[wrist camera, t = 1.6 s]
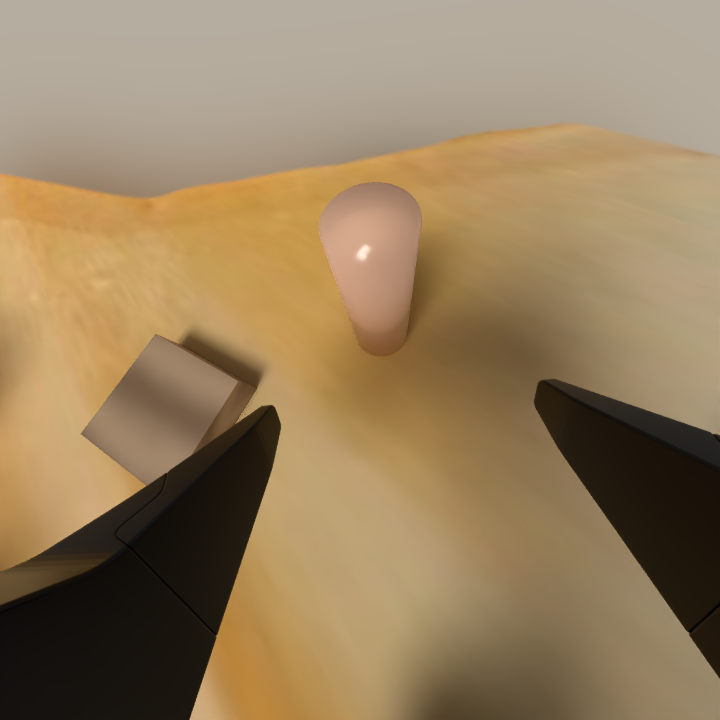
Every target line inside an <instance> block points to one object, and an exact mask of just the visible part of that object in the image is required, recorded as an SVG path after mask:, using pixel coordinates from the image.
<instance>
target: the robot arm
mask: <svg viewBox="0 0 720 720" xmlns="http://www.w3.org/2000/svg"><path fill="white" fill-rule="evenodd" d="M534 404H535V407H536V410H537V411H538V413H539V415H540V417H541V419H542V420H543V422H544V424H545V426H546V428H547V429H548V431H549V433H550V435H551V437H552V438H553V440H554V442H555V444H556V445H557V447H558V449H559V450H560V452H561V453H562V455H563V456H564V457H565V459H566V460H567V462H568V463H569V465H570V466H571V467H572V469H573V470H574V472H575V473H576V474H577V476H578V477H579V479H580V480H581V482H582V483H583V484H584V486H585V487H586V489H587V490H588V492H589V493H590V494H591V496H592V497H593V499H594V500H595V502H596V503H597V504H598V506H599V507H600V509H601V510H602V511H603V513H604V514H605V516H606V517H607V519H608V520H609V521H610V523H611V524H612V526H613V527H614V529H615V530H616V531H617V533H618V534H619V536H620V537H621V538H622V540H623V541H624V543H625V544H626V546H627V547H628V548H629V550H630V551H631V553H632V554H633V556H634V557H635V558H636V560H637V561H638V563H639V564H640V565H641V567H642V568H643V570H644V571H645V573H646V574H647V575H648V577H649V578H650V580H651V581H652V583H653V584H654V585H655V587H656V588H657V590H658V591H659V592H660V594H661V595H662V597H663V598H664V600H665V601H666V602H667V604H668V605H669V607H670V608H671V610H672V611H673V612H674V614H675V615H676V617H677V618H678V620H679V621H680V622H681V624H682V625H683V627H684V628H685V629H686V631H687V632H689V636H690V637H691V638H692V640H693V641H694V643H695V644H696V646H697V647H698V648H699V650H700V651H701V653H702V654H703V655H704V657H705V658H706V660H707V661H708V663H709V664H710V665H711V667H712V668H713V670H714V671H715V673H716V674H717V675H718V677H719V678H720V435H717V434H712V433H711V432H708V431H705V430H702V429H699V428H696V427H694V426H691V425H688V424H685V423H682V422H679V421H676V420H673V419H670V418H667V417H664V416H661V415H659V414H656V413H653V412H650V411H647V410H644V409H641V408H638V407H635V406H632V405H629V404H626V403H623V402H621V401H618V400H615V399H612V398H609V397H606V396H603V395H600V394H597V393H594V392H591V391H588V390H586V389H583V388H580V387H577V386H574V385H571V384H568V383H565V382H562V381H559V380H556V379H546V380H541V381H539V382H538V385H537V390H536V395H535V399H534ZM280 430H281V423H280V420H279V417H278V414H277V412H276V409H275V407H274V406H273V405H267V406H261V407H260V408H258V409H257V410H255V411H254V412H252V413H251V414H250V415H248V416H247V417H245V418H244V419H242V420H241V421H240V422H238V423H237V424H235V425H234V426H232V427H231V428H229V429H228V430H227V431H225V432H224V433H222V434H221V435H219V436H218V437H217V438H215V439H214V440H212V441H211V442H209V443H208V444H206V445H205V446H204V447H202V448H201V449H199V450H198V451H196V452H195V453H193V454H192V455H191V456H189V457H188V458H186V459H185V460H183V461H182V462H181V463H179V464H178V465H176V466H175V467H173V468H172V469H170V470H169V471H168V473H165V474H163V475H162V476H160V477H159V478H157V479H156V480H155V481H153V482H152V483H150V484H149V485H147V486H146V487H144V488H143V489H141V490H140V491H138V492H137V493H135V494H134V495H132V496H131V497H129V498H128V499H126V500H125V501H123V502H122V503H120V504H118V505H117V506H115V507H114V508H112V509H111V510H109V511H108V512H106V513H104V514H103V515H101V516H100V517H98V518H96V519H95V520H93V521H92V522H90V523H89V524H87V525H85V526H84V527H82V528H81V529H79V530H77V531H76V532H74V533H73V534H71V535H69V536H68V537H66V538H65V539H63V540H62V541H60V542H58V543H57V544H55V545H54V546H52V547H50V548H49V549H47V550H45V551H44V552H42V553H40V554H39V555H37V556H35V557H33V558H31V559H29V560H27V561H25V562H23V563H21V564H19V565H16V566H14V567H12V568H9V569H7V570H4V571H1V572H0V720H189V719H190V716H191V713H192V710H193V707H194V704H195V701H196V698H197V695H198V692H199V689H200V686H201V683H202V680H203V677H204V674H205V671H206V668H207V665H208V662H209V659H210V656H211V653H212V650H213V647H214V644H215V641H216V635H217V634H218V631H219V628H220V625H221V622H222V619H223V616H224V613H225V610H226V607H227V604H228V601H229V598H230V595H231V592H232V589H233V586H234V583H235V580H236V577H237V574H238V571H239V568H240V565H241V562H242V559H243V556H244V553H245V550H246V546H247V543H248V540H249V537H250V534H251V531H252V528H253V525H254V522H255V519H256V516H257V513H258V510H259V507H260V504H261V501H262V498H263V495H264V492H265V489H266V486H267V483H268V480H269V477H270V474H271V471H272V467H273V463H274V459H275V454H276V449H277V445H278V440H279V435H280Z"/></svg>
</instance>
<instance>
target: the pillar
mask: <svg viewBox="0 0 720 720" xmlns="http://www.w3.org/2000/svg"><path fill="white" fill-rule="evenodd" d="M421 223H422V215H421V210H420V207H419V205H418V203H417V202H416V200H415V199H414V198H413V196H412V195H410V194H409V193H408V192H407V191H405V190H404V189H402V188H400V187H398V186H395V185H392V184H388V183H381V182H371V183H364V184H359V185H356V186H353V187H351V188H348V189H346V190H344V191H343V192H341V193H340V194H338V195H337V196H336V197H334V198H333V199H332V200H331V201H330V202H329V203H328V205H327V206H326V207H325V209H324V211H323V213H322V215H321V218H320V222H319V235H320V239H321V242H322V244H323V247H324V250H325V253H326V256H327V258H328V261H329V264H330V267H331V269H332V272H333V275H334V278H335V280H336V283H337V286H338V289H339V292H340V294H341V297H342V300H343V303H344V305H345V308H346V311H347V314H348V316H349V319H350V322H351V325H352V328H353V330H354V333H355V336H356V339H357V341H358V343H359V345H360V347H361V348H362V349H363V350H364V351H366V352H367V353H369V354H371V355H375V356H387V355H390V354H393V353H395V352H396V351H398V350H399V349H400V348H401V347H402V345H403V344H404V342H405V340H406V337H407V329H408V322H409V314H410V307H411V299H412V292H413V284H414V277H415V269H416V261H417V254H418V246H419V239H420V231H421Z"/></svg>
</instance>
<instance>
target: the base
mask: <svg viewBox="0 0 720 720" xmlns="http://www.w3.org/2000/svg"><path fill="white" fill-rule="evenodd" d="M256 389H257V388H256V387H254V386H252V385H250V384H249V383H247V382H245V381H243V380H241V379H240V378H238V377H236V376H234V375H233V374H231V373H229V372H227V371H226V370H224V369H222V368H220V367H219V366H217V365H215V364H213V363H211V362H210V361H208V360H206V359H204V358H203V357H201V356H199V355H197V354H196V353H194V352H192V351H190V350H189V349H187V348H185V347H183V346H181V345H179V344H177V343H175V342H173V341H170V340H168V339H166V338H164V337H161V336H159V335H157V334H155V335H154V337H153V338H152V339H151V341H150V342H149V343H148V345H147V346H146V347H145V349H144V350H143V351H142V353H141V354H140V355H139V357H138V358H137V359H136V361H135V362H134V363H133V365H132V366H131V367H130V369H129V370H128V371H127V373H126V374H125V375H124V377H123V378H122V379H121V381H120V382H119V383H118V385H117V386H116V387H115V389H114V390H113V391H112V393H111V394H110V395H109V397H108V398H107V399H106V401H105V402H104V403H103V405H102V406H101V407H100V409H99V410H98V411H97V413H96V414H95V415H94V417H93V418H92V419H91V421H90V422H89V423H88V425H87V426H86V427H85V429H84V430H83V432H82V433H81V434H82V435H83V436H84V437H85V438H87V439H88V440H89V441H90V442H92V443H93V444H94V445H95V446H97V447H98V448H99V449H101V450H102V451H103V452H104V453H106V454H107V455H108V456H109V457H111V458H112V459H113V460H115V461H116V462H117V463H118V464H120V465H121V466H122V467H123V468H125V469H126V470H127V471H129V472H130V473H131V474H132V475H134V476H135V477H136V478H137V479H139V480H140V481H141V482H143V483H144V484H145V485H146V486H147V485H149V484H150V483H152V482H153V481H155V480H156V479H157V478H159V477H160V476H162V475H163V474H165V473H168V471H169V470H170V469H172V468H173V467H175V466H176V465H178V464H179V463H181V462H182V461H183V460H185V459H186V458H188V457H189V456H191V455H192V454H193V453H195V452H196V451H198V450H199V449H201V448H202V447H204V446H205V445H206V444H208V443H209V442H211V441H212V440H214V439H215V438H217V437H218V436H219V435H221V434H222V433H224V432H225V431H227V430H228V429H229V428H231V427H232V426H234V424H235V422H236V421H237V419H238V418H239V416H240V414H241V413H242V411H243V409H244V408H245V406H246V405H247V403H248V401H249V400H250V398H251V397H252V395H253V393H254V392H255V390H256Z"/></svg>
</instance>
